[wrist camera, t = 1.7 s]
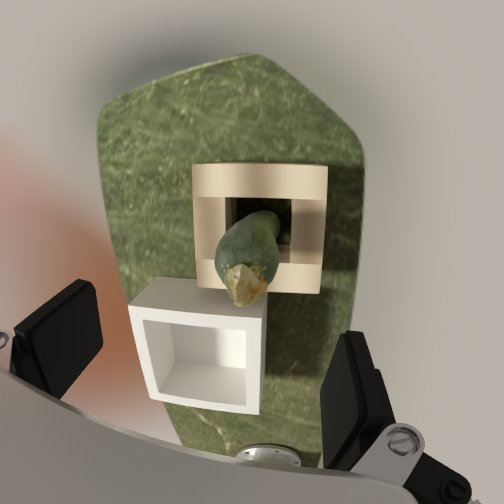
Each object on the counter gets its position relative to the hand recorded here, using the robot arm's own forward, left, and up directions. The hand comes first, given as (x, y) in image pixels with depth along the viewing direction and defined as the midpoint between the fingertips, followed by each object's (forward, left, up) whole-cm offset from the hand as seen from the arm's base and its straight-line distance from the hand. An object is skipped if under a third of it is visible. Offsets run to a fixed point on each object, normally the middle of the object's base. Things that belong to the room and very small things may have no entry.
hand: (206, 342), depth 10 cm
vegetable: (0, 0, -24) cm, 24 cm away
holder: (0, 0, -24) cm, 24 cm away
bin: (-6, +15, -24) cm, 29 cm away
